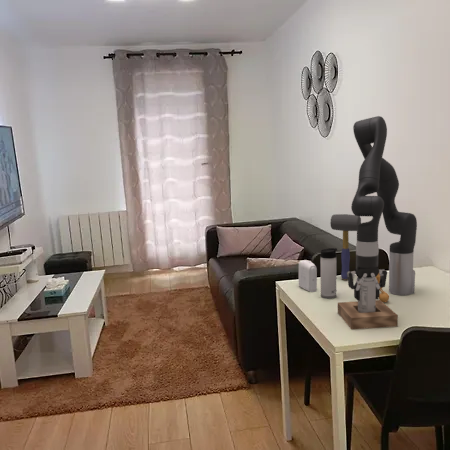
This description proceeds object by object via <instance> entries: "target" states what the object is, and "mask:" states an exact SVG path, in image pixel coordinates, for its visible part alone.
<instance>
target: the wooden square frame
mask: <svg viewBox="0 0 450 450" xmlns="http://www.w3.org/2000/svg"><path fill="white" fill-rule="evenodd" d="M337 314H338V315H339V317H341V319H342V320H343V321H344V322H345V323H346V325H347V326H348V327H349V328H350V329H351V330H360V329H361V330H363V329H375V328H377V329H379V328H380V329H381V328H394V327H398V322H399V321H398V320H399V319H398V318H399V317H398V314H397V313H396V312H395V311H393V310H392V309H391V308H390V307H389V306H388V305H386V304H385V302H382V301H381V300H379V299H376V306H375V312H368V313H359V312H358V301H357V300H356V301H343V302H337Z"/></svg>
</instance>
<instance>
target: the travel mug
mask: <svg viewBox="0 0 450 450" xmlns="http://www.w3.org/2000/svg"><path fill="white" fill-rule="evenodd" d="M337 252H338V249H337V248H336V247H335V248H323V249H321V250H320V297H321V298H322V299H329V300H331V299H332V300H333V299H335V298H336V297H337Z"/></svg>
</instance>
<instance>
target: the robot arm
mask: <svg viewBox="0 0 450 450" xmlns="http://www.w3.org/2000/svg"><path fill="white" fill-rule="evenodd" d="M352 129H353V135H354V138H355V140H356V143H357V145H358V148H359V150H360V153H361V155H362V156H363V158H364V160H363V161H362V163H361V165H360V168H359V172H358V183H357V184H358V185H357V188H356V192H355V195H354V197H353V199H352V201H351V212H352V215H356V216H360V217H372V219H371V220H369V221H365V222H361V223H360V224H358V226H357V231H356V244H355V269H354V270H353V271H350V270H349V271H348V272H347V278H348V280H347V283H348V284H347V285H348V288H350V289H351V290H353V297H354V299H355V300H356V301H359V300H360V291H359V289H360V285H362V282H363V280H364V278H366V277H372V278H373V279H374V280H375V282H376V300H379V296H380V295H379V294H380V293H381V291H380V288H382V287H383V288H385V287H386V283H387V276H388V293H390V294H393V295H396V296H409V295H412V294H415V293H416V292H415V290H416V289H415V287H416V286H415V285H416V284H415V283H416V282H415V281H416V271H415V270H414V253H415V246H416V242H417V241H416V239H417V230H418V228H417V227H418V223H417V217H416V215H415V214H414V213H411V212H403V211H399V210H398V208H397V205H396V202H395V199H396V196H397V194H398V191H399V188H400V187H399V186H400V182H399V178H398V175H397V172H396V170H395V167H394V166H393V164H391V163H390V162H389V161H387V160H386V159H385V158H383V156H384V151H385V146H386V142H387V141H386V140H387V135H388V127H387V123H386V121H385V119H384V118H383V117H382V116H379V115H378V116H372V117H368V118H364V119H360V120H358V121H355V122H354V123H353V128H352ZM375 193H376V195H372V194H375ZM382 216H383V220H384V221H383V222H384V225H385V229H386V230H387V231H388V233H390V234H392V235H398V236H400V238H399V240H398V241H395V242H392V243H390V244H389V255H388V257H389V258H388V259H389V261H388V263H389V265H388V271H387V270H385V269H384V268H382V269H379V252H380V251H379V226H380V225H379V224H380V220H381V217H382ZM379 273H380V282H379V283H378V281H377V279H376V276H377V275H378V274H379ZM355 275H356V280H355V282H354V278H355ZM359 279H360V281H358V280H359ZM361 281H362V282H361ZM383 288H382V289H383Z"/></svg>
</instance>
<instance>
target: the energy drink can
mask: <svg viewBox="0 0 450 450" xmlns="http://www.w3.org/2000/svg"><path fill="white" fill-rule="evenodd" d="M358 281H360V279H359V280H358ZM361 282H362V281H361ZM359 291H360V300H359V301H358V312H359V313H368V312H375V306H376V300H377V299H376V282H375V280H374V279H373V278H372V277H366V278H364V280H363V282H362V285H360V289H359Z"/></svg>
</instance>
